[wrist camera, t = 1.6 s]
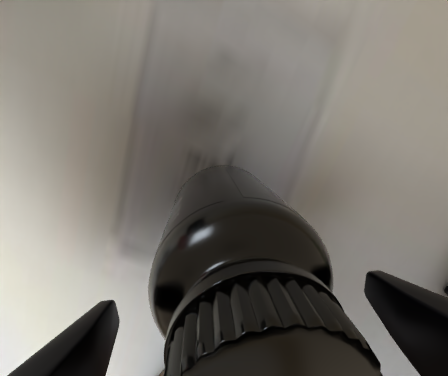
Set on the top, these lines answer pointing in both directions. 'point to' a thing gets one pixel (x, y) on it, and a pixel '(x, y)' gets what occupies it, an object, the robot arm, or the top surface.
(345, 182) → the top surface
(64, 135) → the top surface
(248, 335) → the supplement bottle
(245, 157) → the top surface
